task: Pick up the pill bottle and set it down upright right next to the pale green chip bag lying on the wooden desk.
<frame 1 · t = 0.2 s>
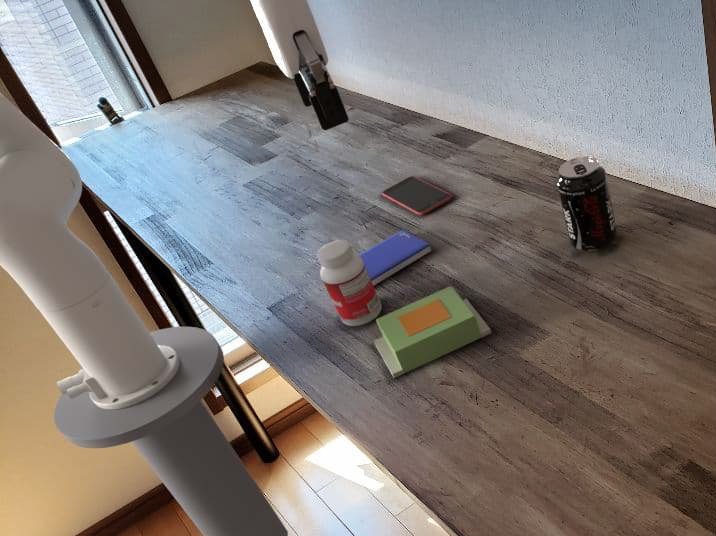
hand: (326, 113, 98), 30 cm above the table, tool pointing down, fingers open, 9 cm apart
beverage can: (594, 243, 121), on the table
smartphone: (417, 197, 144), on the table
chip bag: (432, 338, 112), on the table
hard drive: (386, 264, 130), on the table
pill bottle: (363, 315, 120), on the table
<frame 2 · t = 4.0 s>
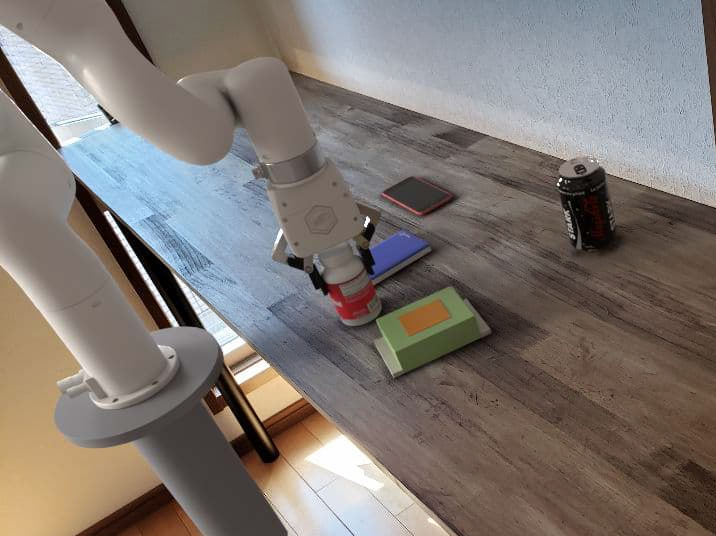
hand: (347, 280, 116), 6 cm above the table, tool pointing down, fingers closed on pill bottle, 6 cm apart
pill bottle: (363, 315, 120), on the table, touching gripper
everything else where it was.
when the fingers open (6 cm above the table, at t = 11.5 s): pill bottle stays where it is, on the table.
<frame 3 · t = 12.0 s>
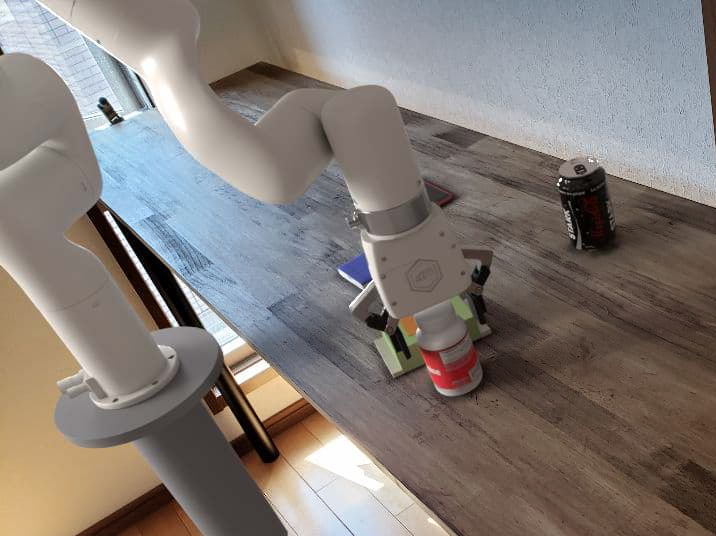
hand: (443, 336, 99), 7 cm above the table, tool pointing down, fingers open, 9 cm apart
pill bottle: (460, 382, 104), on the table
everything else where it was.
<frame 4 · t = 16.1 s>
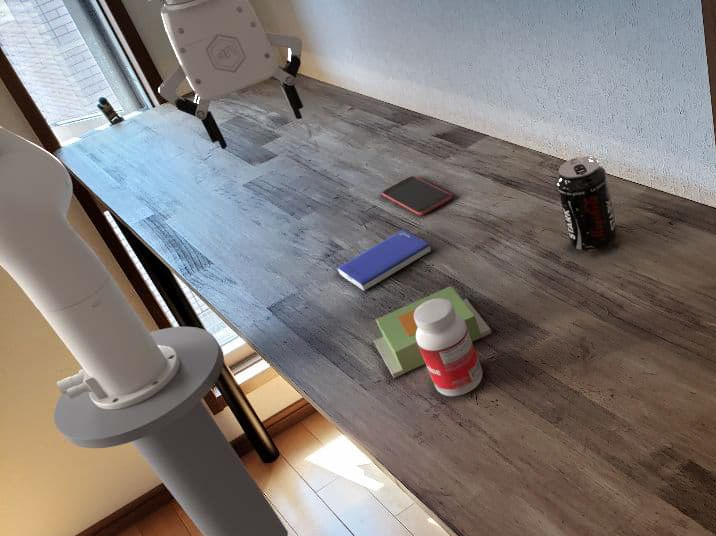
hand: (260, 130, 103), 28 cm above the table, tool pointing down, fingers open, 9 cm apart
nothing on the table moved.
at the end: pill bottle 11.0 cm from the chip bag (horizontally); pill bottle tilted 0°; pill bottle moved 24.8 cm from its start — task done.
